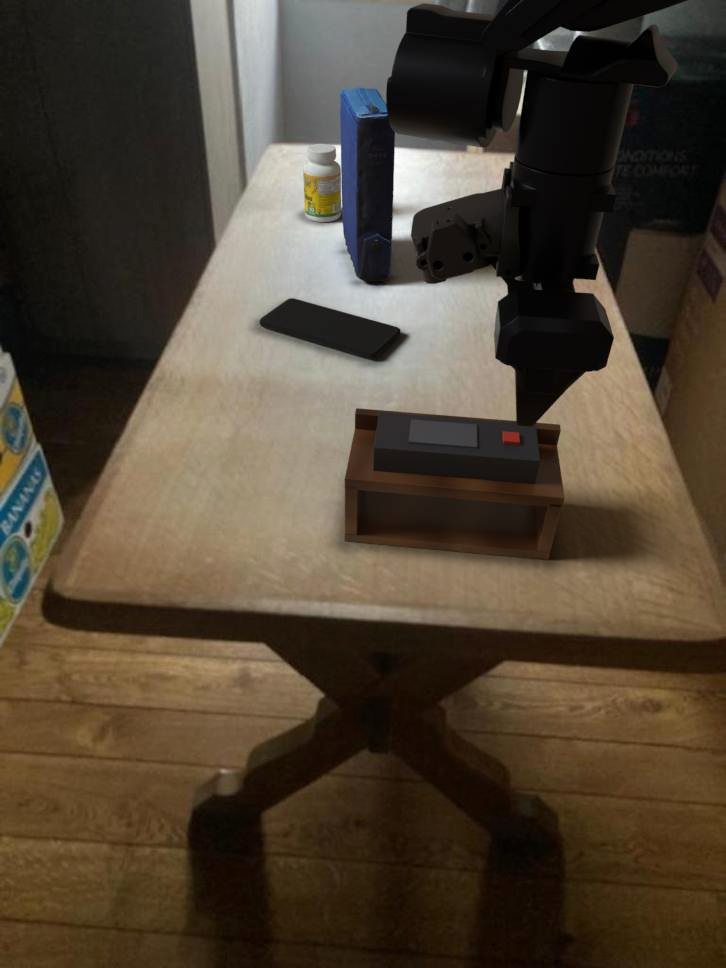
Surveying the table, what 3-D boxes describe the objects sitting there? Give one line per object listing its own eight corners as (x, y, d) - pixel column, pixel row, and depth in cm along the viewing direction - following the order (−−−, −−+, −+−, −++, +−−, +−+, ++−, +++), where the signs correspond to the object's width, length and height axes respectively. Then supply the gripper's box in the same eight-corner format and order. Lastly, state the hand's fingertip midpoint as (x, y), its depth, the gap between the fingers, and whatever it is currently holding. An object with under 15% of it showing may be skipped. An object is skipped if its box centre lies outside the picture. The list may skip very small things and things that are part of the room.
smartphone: (289, 296, 89) (403, 327, 84) (290, 303, 90) (402, 334, 84) (256, 320, 84) (374, 354, 79) (257, 326, 85) (374, 361, 80)
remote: (372, 470, 56) (373, 444, 54) (378, 434, 59) (379, 408, 58) (535, 484, 55) (541, 457, 53) (531, 446, 58) (536, 420, 57)
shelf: (542, 500, 63) (560, 424, 58) (548, 560, 58) (568, 482, 53) (354, 484, 65) (356, 407, 59) (344, 541, 59) (344, 462, 54)
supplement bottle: (344, 221, 109) (345, 152, 103) (309, 224, 108) (307, 155, 102) (336, 208, 113) (335, 141, 107) (301, 210, 112) (299, 143, 106)
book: (395, 285, 94) (403, 112, 81) (353, 287, 93) (355, 113, 80) (376, 239, 105) (380, 80, 92) (338, 241, 104) (337, 81, 91)
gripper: (430, 109, 51) (414, 316, 61) (417, 210, 37) (399, 458, 47) (596, 118, 50) (552, 326, 60) (648, 225, 36) (579, 474, 46)
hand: (520, 387), depth 53 cm, fingers open, 9 cm apart
